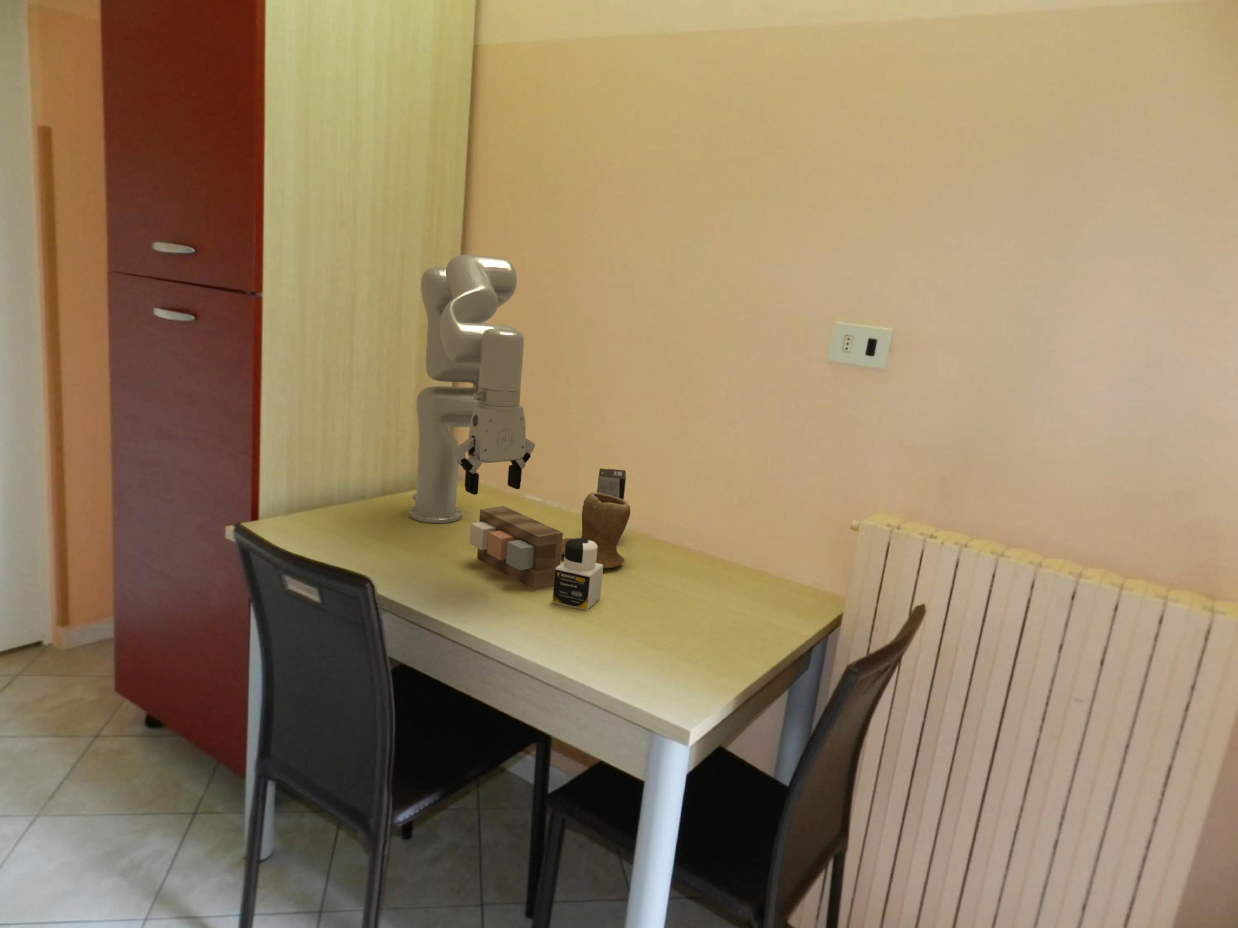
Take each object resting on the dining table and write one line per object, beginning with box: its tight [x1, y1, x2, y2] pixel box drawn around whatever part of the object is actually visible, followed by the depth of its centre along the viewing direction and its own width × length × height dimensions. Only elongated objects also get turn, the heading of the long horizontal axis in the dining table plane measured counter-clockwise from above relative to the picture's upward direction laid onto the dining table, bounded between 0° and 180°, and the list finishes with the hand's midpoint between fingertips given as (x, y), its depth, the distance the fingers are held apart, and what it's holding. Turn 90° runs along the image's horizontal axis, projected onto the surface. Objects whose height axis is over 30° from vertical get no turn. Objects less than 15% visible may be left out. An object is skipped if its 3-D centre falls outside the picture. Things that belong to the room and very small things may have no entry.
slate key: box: [506, 539, 535, 570], centre depth 166 cm, size 4×4×4 cm
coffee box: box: [596, 468, 627, 546], centre depth 200 cm, size 9×6×16 cm
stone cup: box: [561, 491, 631, 569], centre depth 184 cm, size 15×12×15 cm
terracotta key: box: [487, 530, 515, 560], centre depth 170 cm, size 4×4×4 cm
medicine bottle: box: [552, 537, 604, 611], centre depth 161 cm, size 7×7×12 cm
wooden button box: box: [476, 505, 564, 591], centre depth 173 cm, size 20×6×11 cm, turn 43°
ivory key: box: [468, 521, 496, 550], centre depth 175 cm, size 4×4×4 cm
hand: (493, 490), depth 157 cm, fingers open, 9 cm apart
